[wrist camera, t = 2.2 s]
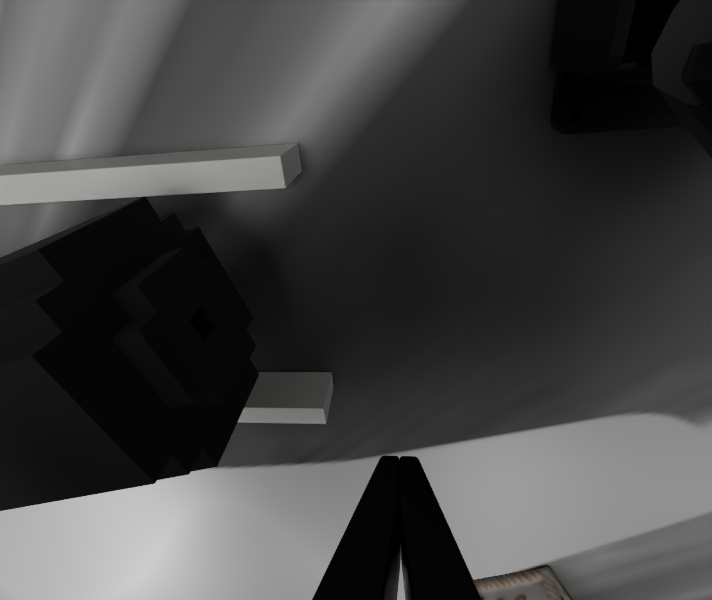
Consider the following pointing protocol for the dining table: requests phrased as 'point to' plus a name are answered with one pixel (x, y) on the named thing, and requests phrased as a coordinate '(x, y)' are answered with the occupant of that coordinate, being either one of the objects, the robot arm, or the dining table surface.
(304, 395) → the tester cradle
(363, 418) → the dining table surface
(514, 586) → the decorative jar
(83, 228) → the security camera
